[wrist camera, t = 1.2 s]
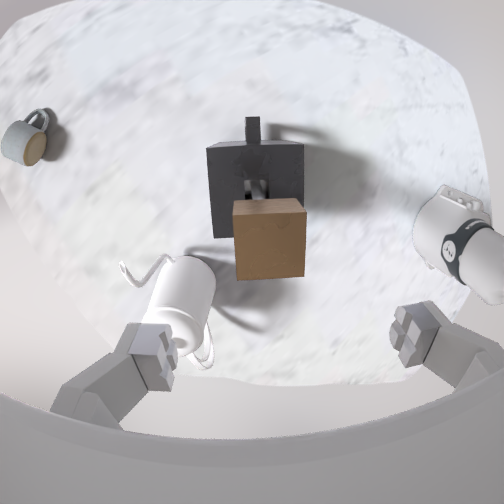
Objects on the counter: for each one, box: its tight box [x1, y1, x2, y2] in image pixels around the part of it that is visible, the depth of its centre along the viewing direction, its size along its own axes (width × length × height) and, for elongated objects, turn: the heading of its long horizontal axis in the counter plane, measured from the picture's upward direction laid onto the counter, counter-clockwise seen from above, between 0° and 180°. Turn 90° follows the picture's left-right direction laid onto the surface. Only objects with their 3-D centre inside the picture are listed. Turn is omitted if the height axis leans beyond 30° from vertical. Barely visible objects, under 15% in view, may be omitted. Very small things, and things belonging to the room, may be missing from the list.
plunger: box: [232, 180, 307, 281], centre depth 24 cm, size 7×7×19 cm
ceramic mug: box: [1, 109, 49, 166], centre depth 34 cm, size 11×8×8 cm
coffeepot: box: [119, 254, 216, 370], centre depth 43 cm, size 11×25×19 cm, turn 21°
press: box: [206, 117, 304, 238], centre depth 35 cm, size 10×13×16 cm
